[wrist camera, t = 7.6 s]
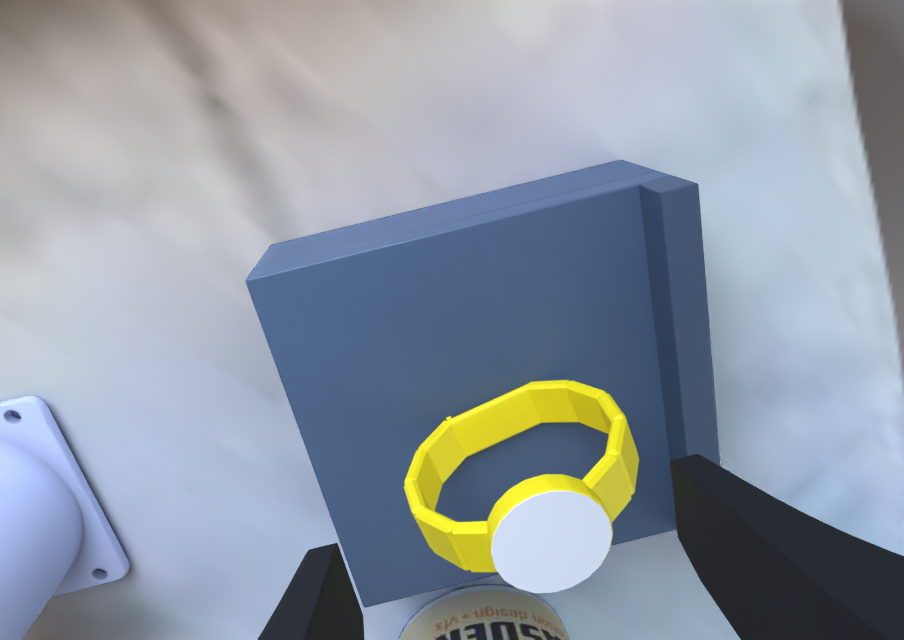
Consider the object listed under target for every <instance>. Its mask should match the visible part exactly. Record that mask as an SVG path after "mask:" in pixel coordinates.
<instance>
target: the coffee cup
mask: <svg viewBox="0 0 904 640" xmlns="http://www.w3.org/2000/svg"><path fill="white" fill-rule="evenodd" d="M399 640H570V639H569V637H568V635H567V632H566V630H565V628H564V626H563V624H562V622H561V620H560V619H559V617H558V616H557V614H556V613H555V611H554V610H553V609H552V608H551V607H550V606H549V605H548V604H547V603H545V602H544V601H543V600H542V599H540V598H539V597H537V596H535V595H533V594H531V593H529V592H527V591H524V590H520V589H517V588H515V587H509V586H503V585H478V586H471V587H466V588H462V589H458V590H455V591H452V592H449V593H447V594H445V595H442V596H440V597H439V598H437V599H435V600H433V601H432V602H430V603H428V604H427V605H426V606H424V607H423V608H422V609H421V610H419V611H418V612H417V613H416V614H415V615H414V616H413V617H412V619H411V620H410V621H409V622H408V624H407V625H406V627H405V628H404V630H403V632H402V634H401V636H400V639H399Z"/></svg>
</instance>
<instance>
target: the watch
mask: <svg viewBox="0 0 904 640" xmlns="http://www.w3.org/2000/svg"><path fill="white" fill-rule="evenodd" d="M446 419H447V421H443V422H442V423H441V424H440V425H439V427H438V428H437V429H436V430H435V431H434V432H433V433H432V434H431V435H430V436H429V437H428V438H427V439H426V440H425V441H424V442H423V443H422V444H421V445H420V446H419V448H418V450H417V451H416V453H415V455H414V458H413V460H412V463H411V465H410V468H409V471H408V473H407V476H406V478H405V481H404V483H405V485H404V490H405V493H406V496H407V499H408V502H409V505H410V509H411V512H412V514H413V516H414V518H415V520H416V522H417V524H418V525H419V527H420V529H421V531H422V533H423V535H424V537H425V539H426V541H427V542H428V544H429V546H430V548H431V549H433V551H434V553H436V554H437V555H439V556H441V557H442V558H444V559H446V560H448V561H449V562H451V563H453V564H455V565H456V566H458V567H460V568H461V569H463V570H471V572H498V573H499V574H500V576H501V577H502V578H503V579H504V580H505V581H506V582H508V583H509V584H511V585H513V586H514V587H516V588H517V589H520V590H524V591H528V592H532V593H554V592H557V591H561V590H564V589H568V588H571V587H573V586H575V585H577V584H578V583H580V582H582V581H584V580H585V579H587V578H588V577H589V576H590V575H591V574H592V573H593V572H594V571H595V570H596V569H597V568H599V567H600V566H601V564H602V563H603V561H604V559H605V557H606V556H607V554H608V552H609V550H610V547H611V542H612V537H613V528H612V522H613V521H614V520H615V518H616V517H617V516H618V515H619V514H620V512H621V511H622V510H623V509H624V507H625V506H626V505H627V504H628V503H629V501H630V500H631V499H632V498H631V496H632V495H633V494H634V493H635V486H636V479H637V471H638V464H639V457H638V452H637V449H636V446H635V443H634V440H633V438H632V435H631V432H630V429H629V426H628V423H627V420H626V417H625V415H624V414H623V412H622V411H621V410H620V408H619V407H618V405H617V404H616V403H615V401H614V400H613V398H612V397H611V396H610V394H608V393H605V391H603V390H600V389H597V388H594V387H591V386H588V385H585V384H582V383H579V382H576V381H569V380H554V381H535V382H530V383H528V384H526V385H524V386H521V387H519V388H517V389H515V390H513V391H510V392H508V393H506V394H504V395H502V396H499V397H497V398H495V399H493V400H491V401H488V402H486V403H484V404H482V405H480V406H477V407H475V408H473V409H471V410H469V411H466V412H464V413H462V414H460V415H458V416H455V417H453V418H451V416H449V417H447V418H446ZM565 422H580V423H582V424H585V425H587V426H590V427H592V428H594V429H597V430H599V431H602V432H604V433H607V434H609V437H608V442H607V447H606V452H605V455H604V456H603V457H602V459H601V460H600V461H599V462H598V463H597V464H596V465H595V466H594V467H593V468H592V470H591V471H590V472H589V473H588V474H587V475H586V476H585V477H584V478H583V479H582V480H580V479H577V478H574V477H571V476H568V475H564V474H544V475H540V476H536V477H533V478H529V479H526V480H524V481H522V482H520V483H519V484H517V485H515V486H514V487H512V488H510V489H509V490H508V491H507V492H506V493H505V494H504V495H503V496H502V497H501V498H500V499H499V500H498V501H497V502H496V503H495V505H494V507H493V509H492V511H491V513H490V515H489V517H488V520H487V521H475V522H456V521H454V520H452V519H450V518H448V517H446V516H444V515H442V514H440V513H438V512H435V508H436V504H437V501H438V498H439V494H440V491H441V488H442V484H443V483H444V482H445V481H446V480H447V479H448V477H449V476H450V475H451V474H452V473H453V472H454V471H455V469H456V468H457V467H458V466H459V465H460V464H461V463H462V461H463V460H464V459H465V458H466V457H468V456H470V455H473V454H475V453H477V452H479V451H481V450H483V449H486V448H488V447H490V446H492V445H494V444H497V443H499V442H501V441H503V440H505V439H508V438H510V437H512V436H514V435H516V434H518V433H521V432H523V431H525V430H527V429H529V428H532V427H534V426H536V425H538V424H540V423H565Z"/></svg>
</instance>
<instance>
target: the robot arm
mask: <svg viewBox="0 0 904 640" xmlns="http://www.w3.org/2000/svg"><path fill="white" fill-rule="evenodd" d="M11 410H14V411H16V412H18V413H19V414H20V416H21V418H17V417H14V416H13V415H12V414H11ZM670 466H671V475H672V485H673V494H674V504H675V513H676V523H677V532H678V538H679V540H680V542H681V544H682V546H683V548H684V550H685V552H686V554H687V556H688V558H689V560H690V561H691V563H692V565H693V567H694V569H695V571H696V573H697V574H698V576H699V578H700V580H701V582H702V583H703V585H704V586H705V588H706V589H707V591H708V592H709V594H710V595H711V597H712V598H713V599H714V601H715V602H716V604H717V605H718V607H719V608H720V610H721V611H722V613H723V614H724V616H725V617H726V618H727V620H728V621H729V623H730V624H731V626H732V627H733V629H734V630H735V632H736V633H737V634H738V636H739V637H740V639H741V640H904V556H902V555H899V554H896V553H893V552H891V551H888V550H886V549H883V548H881V547H878V546H876V545H874V544H871V543H869V542H866V541H864V540H861V539H859V538H856V537H854V536H852V535H849V534H847V533H845V532H843V531H840V530H838V529H836V528H834V527H832V526H830V525H828V524H825V523H823V522H821V521H819V520H817V519H815V518H813V517H811V516H809V515H807V514H805V513H803V512H801V511H799V510H797V509H795V508H793V507H791V506H789V505H787V504H785V503H784V502H782V501H780V500H778V499H776V498H774V497H772V496H771V495H769V494H767V493H765V492H763V491H762V490H760V489H758V488H756V487H755V486H753V485H751V484H749V483H748V482H746V481H744V480H742V479H741V478H739V477H737V476H736V475H734V474H732V473H730V472H729V471H727V470H725V469H724V468H722V467H720V466H719V465H717V464H715V463H713V462H712V461H710V460H708V459H707V458H705V457H703V456H701V455H700V454H694V455H690V456H686V457H682V458H678V459H674V460H670ZM129 567H130V564H129V561H128V559H127V557H126V555H125V553H124V551H123V549H122V547H121V545H120V544H119V542H118V540H117V538H116V536H115V534H114V532H113V530H112V528H111V526H110V525H109V523H108V521H107V519H106V517H105V515H104V513H103V511H102V509H101V507H100V506H99V504H98V502H97V500H96V498H95V496H94V494H93V492H92V490H91V488H90V487H89V485H88V483H87V481H86V479H85V477H84V475H83V473H82V471H81V469H80V468H79V466H78V464H77V462H76V460H75V458H74V456H73V454H72V452H71V450H70V449H69V447H68V445H67V443H66V441H65V439H64V437H63V435H62V433H61V431H60V430H59V428H58V426H57V424H56V422H55V420H54V418H53V416H52V414H51V412H50V411H49V409H48V407H47V405H46V404H45V402H44V401H43V400H41V399H40V398H38V397H34V396H25V397H20V398H16V399H12V400H8V401H4V402H0V640H23V639H24V638H25V636H26V635H27V633H28V631H29V630H30V628H31V627H32V625H33V624H34V622H35V621H36V619H37V618H38V616H39V615H40V613H41V612H42V610H43V609H44V607H45V606H46V604H47V603H48V601H49V599H50V598H51V597H53V596H57V595H61V594H65V593H69V592H73V591H77V590H81V589H85V588H89V587H93V586H97V585H101V584H105V583H109V582H113V581H117V580H120V579H122V578H123V577H124V576H125V575H126V574H127V572H128V570H129ZM98 569H102V570H104V571H105V572H101V571H99V570H98ZM258 640H364V624H363V614H362V611H361V608H360V606H359V603H358V600H357V597H356V594H355V592H354V589H353V586H352V583H351V580H350V578H349V575H348V572H347V569H346V566H345V564H344V561H343V558H342V555H341V552H340V550H339V547H338V544H337V543H335V544H331V545H326V546H322V547H318V548H314V549H310V550H308V552H307V553H306V555H305V557H304V558H303V560H302V562H301V564H300V566H299V568H298V569H297V571H296V573H295V575H294V577H293V579H292V581H291V582H290V584H289V586H288V588H287V590H286V591H285V593H284V595H283V597H282V599H281V600H280V602H279V604H278V606H277V608H276V609H275V611H274V613H273V614H272V616H271V618H270V619H269V621H268V623H267V625H266V626H265V628H264V630H263V631H262V633H261V635H260V636H259V638H258Z"/></svg>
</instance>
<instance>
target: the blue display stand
mask: <svg viewBox="0 0 904 640" xmlns="http://www.w3.org/2000/svg"><path fill="white" fill-rule="evenodd" d="M246 284H247V287H248V290H249V292H250V295H251V298H252V301H253V303H254V306H255V309H256V312H257V314H258V317H259V320H260V323H261V325H262V328H263V331H264V334H265V336H266V339H267V342H268V345H269V347H270V350H271V353H272V356H273V358H274V361H275V364H276V367H277V369H278V372H279V375H280V378H281V381H282V383H283V386H284V389H285V392H286V394H287V397H288V400H289V403H290V405H291V408H292V411H293V414H294V416H295V419H296V422H297V425H298V427H299V430H300V433H301V436H302V438H303V441H304V444H305V447H306V449H307V452H308V455H309V458H310V460H311V463H312V466H313V469H314V471H315V474H316V477H317V480H318V482H319V485H320V488H321V491H322V493H323V496H324V499H325V502H326V505H327V507H328V510H329V513H330V516H331V518H332V521H333V524H334V527H335V529H336V532H337V535H338V538H339V540H340V543H341V546H342V549H343V551H344V554H345V557H346V560H347V562H348V565H349V568H350V571H351V573H352V576H353V579H354V582H355V584H356V587H357V590H358V593H359V595H360V598H361V601H362V604H363V606H364V607H369V606H373V605H377V604H381V603H385V602H389V601H393V600H397V599H401V598H405V597H409V596H413V595H417V594H421V593H425V592H429V591H433V590H437V589H441V588H445V587H449V586H453V585H457V584H461V583H465V582H469V581H473V580H477V579H481V578H485V577H489V576H493V575H497V574H499V573H498V572H471V570H463V569H461V568H460V567H458V566H456V565H455V564H453V563H451V562H449V561H448V560H446V559H444V558H442V557H441V556H439V555H437V554H436V553H434V551H433V549H431V548H430V546H429V544H428V542H427V541H426V539H425V537H424V535H423V533H422V531H421V529H420V527H419V525H418V524H417V522H416V520H415V518H414V516H413V514H412V512H411V509H410V505H409V502H408V499H407V496H406V493H405V490H404V485H405V483H404V481H405V478H406V476H407V473H408V471H409V468H410V465H411V463H412V460H413V458H414V455H415V453H416V451H417V450H418V448H419V446H420V445H421V444H422V443H423V442H424V441H425V440H426V439H427V438H428V437H429V436H430V435H431V434H432V433H433V432H434V431H435V430H436V429H437V428H438V427H439V425H440V424H441V423H442V422H443V421H447V419H446V418H447V417H449V416H451V418H453V417H455V416H458V415H460V414H462V413H464V412H466V411H469V410H471V409H473V408H475V407H477V406H480V405H482V404H484V403H486V402H488V401H491V400H493V399H495V398H497V397H499V396H502V395H504V394H506V393H508V392H510V391H513V390H515V389H517V388H519V387H521V386H524V385H526V384H528V383H530V382H535V381H554V380H569V381H576V382H579V383H582V384H585V385H588V386H591V387H594V388H597V389H600V390H603V391H605V393H608V394H610V396H611V397H612V398H613V400H614V401H615V403H616V404H617V405H618V407H619V408H620V410H621V411H622V412H623V414H624V415H625V417H626V420H627V423H628V426H629V429H630V432H631V435H632V438H633V440H634V443H635V446H636V449H637V452H638V457H639V464H638V471H637V479H636V486H635V493H634V494H633V495H632V496H631V498H632V499H631V500H630V501H629V503H628V504H627V505H626V506H625V507H624V509H623V510H622V511H621V512H620V514H619V515H618V516H617V517H616V518H615V520H614V521H613V522H612V528H613V537H612V542H611V546H612V545H616V544H620V543H624V542H628V541H632V540H636V539H640V538H644V537H648V536H652V535H656V534H660V533H664V532H668V531H672V530H676V529H677V523H676V513H675V504H674V494H673V485H672V475H671V466H670V460H674V459H678V458H682V457H686V456H690V455H694V454H700V455H701V456H703V457H705V458H707V459H708V460H710V461H712V462H713V463H715V464H717V465H719V466H720V457H719V444H718V431H717V418H716V406H715V393H714V380H713V367H712V355H711V342H710V329H709V316H708V304H707V291H706V278H705V265H704V253H703V240H702V227H701V214H700V202H699V189H698V184H697V183H694V182H691V181H688V180H685V179H682V178H678V177H675V176H671V175H668V174H665V173H662V172H658V171H656V170H652V169H649V168H646V167H643V166H640V165H637V164H633V163H630V162H627V161H624V160H618V161H614V162H610V163H606V164H602V165H597V166H593V167H589V168H585V169H581V170H577V171H573V172H569V173H565V174H560V175H556V176H552V177H548V178H544V179H540V180H536V181H532V182H528V183H524V184H519V185H515V186H511V187H507V188H503V189H499V190H495V191H491V192H487V193H482V194H478V195H474V196H470V197H466V198H462V199H458V200H454V201H450V202H446V203H441V204H437V205H433V206H429V207H425V208H421V209H417V210H413V211H409V212H404V213H400V214H396V215H392V216H388V217H384V218H380V219H376V220H372V221H368V222H363V223H359V224H355V225H351V226H347V227H343V228H339V229H335V230H331V231H327V232H322V233H318V234H314V235H310V236H306V237H302V238H298V239H294V240H290V241H285V242H281V243H277V244H273V245H271V246H270V247H269V248H268V250H267V251H266V252H265V254H264V255H263V256H262V258H261V259H260V261H259V262H258V263H257V265H256V266H255V267H254V269H253V271H252V272H251V273H250V274H249V276H248V277H247V279H246ZM608 437H609V434H607V433H604V432H602V431H599V430H597V429H594V428H592V427H590V426H587V425H585V424H582V423H580V422H565V423H540V424H538V425H536V426H534V427H532V428H529V429H527V430H525V431H523V432H521V433H518V434H516V435H514V436H512V437H510V438H508V439H505V440H503V441H501V442H499V443H497V444H494V445H492V446H490V447H488V448H486V449H483V450H481V451H479V452H477V453H475V454H473V455H470V456H468V457H466V458H465V459H464V460H463V461H462V463H461V464H460V465H459V466H458V467H457V468H456V469H455V471H454V472H453V473H452V474H451V475H450V476H449V477H448V479H447V480H446V481H445V482H444V483H443V484H442V488H441V491H440V494H439V498H438V501H437V504H436V508H435V512H438V513H440V514H442V515H444V516H446V517H448V518H450V519H452V520H454V521H456V522H475V521H487V520H488V517H489V515H490V513H491V511H492V509H493V507H494V505H495V503H496V502H497V501H498V500H499V499H500V498H501V497H502V496H503V495H504V494H505V493H506V492H507V491H508V490H509V489H510V488H512V487H514V486H515V485H517V484H519V483H520V482H522V481H524V480H526V479H529V478H533V477H536V476H540V475H544V474H564V475H568V476H571V477H574V478H577V479H580V480H582V479H583V478H584V477H585V476H586V475H587V474H588V473H589V472H590V471H591V470H592V468H593V467H594V466H595V465H596V464H597V463H598V462H599V461H600V460H601V459H602V457H603V456H604V455H605V452H606V447H607V442H608Z"/></svg>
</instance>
